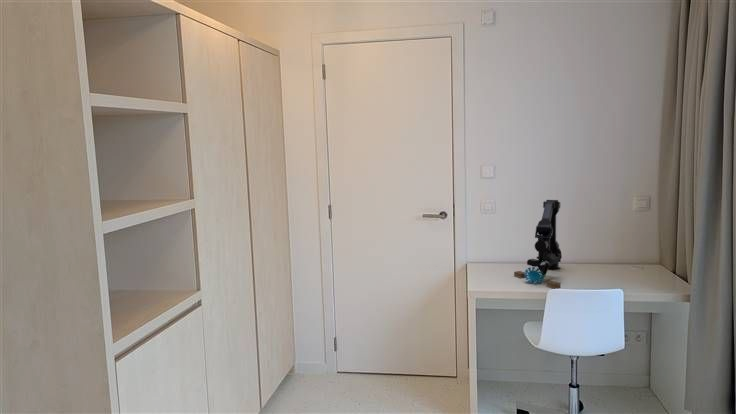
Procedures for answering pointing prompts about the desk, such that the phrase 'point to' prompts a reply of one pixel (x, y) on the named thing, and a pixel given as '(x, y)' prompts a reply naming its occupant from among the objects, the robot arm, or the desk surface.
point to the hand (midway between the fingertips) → (543, 276)
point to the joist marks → (549, 283)
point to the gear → (534, 275)
